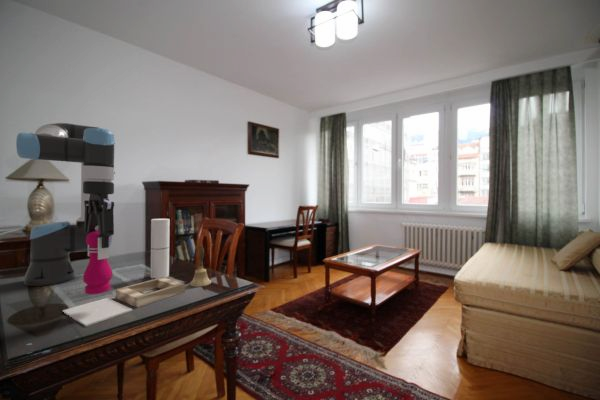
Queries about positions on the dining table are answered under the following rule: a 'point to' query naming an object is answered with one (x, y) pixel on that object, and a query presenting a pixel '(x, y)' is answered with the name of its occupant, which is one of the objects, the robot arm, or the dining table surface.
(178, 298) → the dining table surface
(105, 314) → the plastic pad
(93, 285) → the pepper mill
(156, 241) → the cylindrical container
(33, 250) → the robot arm
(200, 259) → the hand bell
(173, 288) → the maple frame
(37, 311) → the dining table surface
